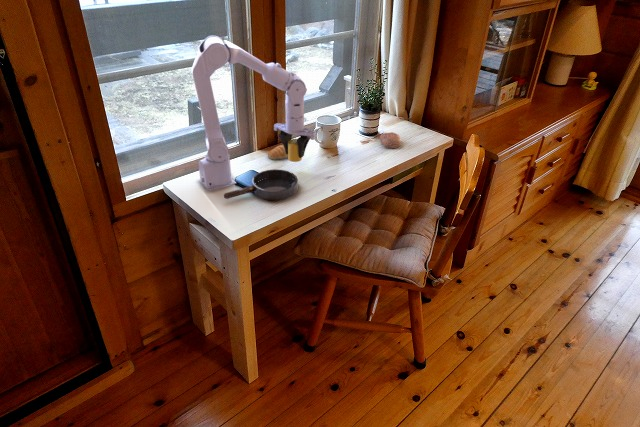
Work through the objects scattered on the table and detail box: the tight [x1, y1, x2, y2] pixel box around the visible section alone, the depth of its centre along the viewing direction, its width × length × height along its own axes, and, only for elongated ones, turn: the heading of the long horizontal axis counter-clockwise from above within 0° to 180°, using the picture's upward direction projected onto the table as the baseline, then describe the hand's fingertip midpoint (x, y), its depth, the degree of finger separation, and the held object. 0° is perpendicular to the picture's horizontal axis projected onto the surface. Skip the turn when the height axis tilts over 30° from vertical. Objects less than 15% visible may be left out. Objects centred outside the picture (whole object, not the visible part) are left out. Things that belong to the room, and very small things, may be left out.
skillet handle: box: [223, 185, 256, 200], centre depth 141 cm, size 11×2×2 cm, turn 122°
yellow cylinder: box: [287, 138, 303, 163], centre depth 153 cm, size 4×4×7 cm
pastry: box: [267, 144, 288, 161], centre depth 167 cm, size 9×7×4 cm
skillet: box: [251, 168, 299, 202], centre depth 147 cm, size 14×14×4 cm
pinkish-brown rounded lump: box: [379, 132, 402, 149], centre depth 178 cm, size 8×6×8 cm
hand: (295, 154), depth 154 cm, fingers closed on yellow cylinder, 4 cm apart
